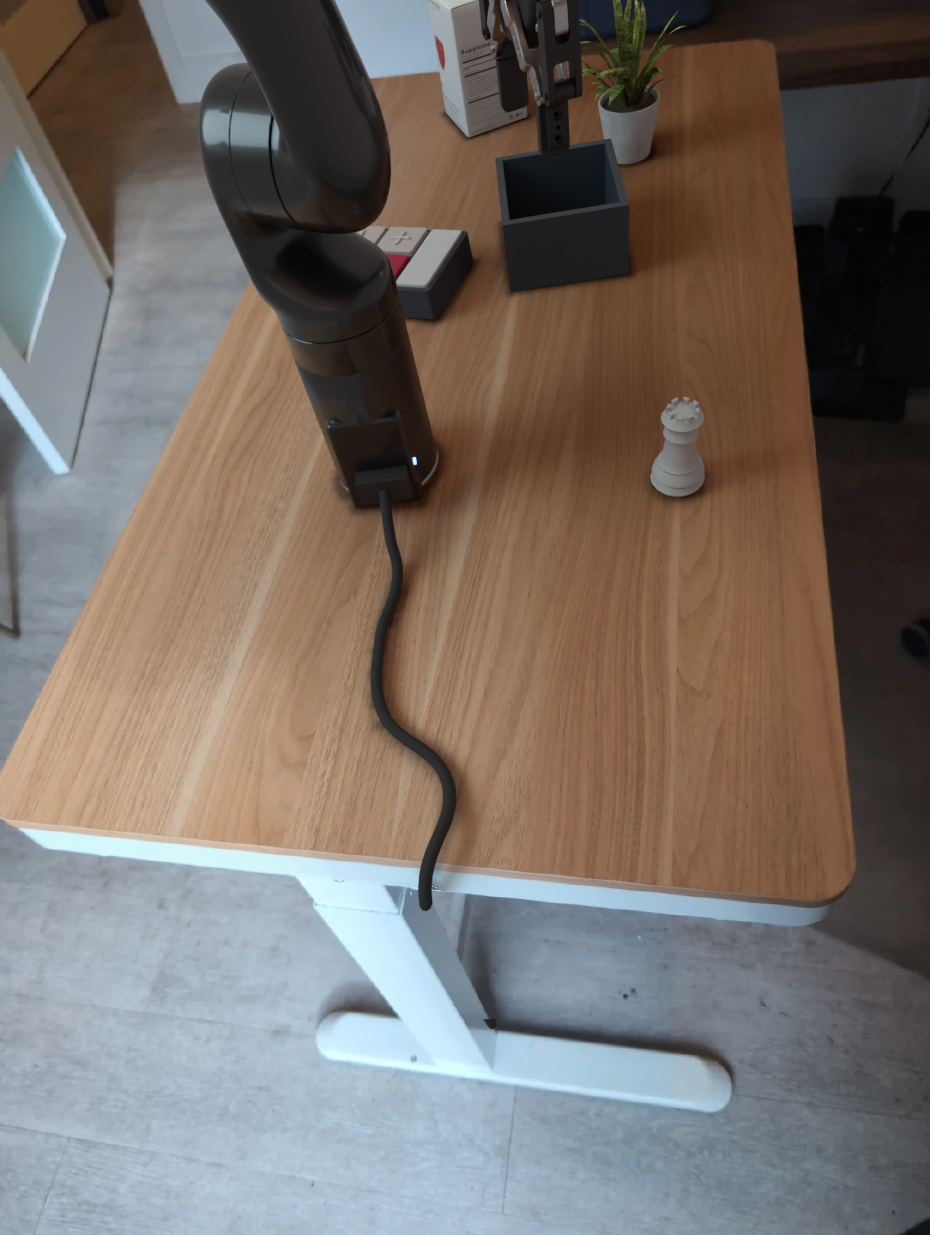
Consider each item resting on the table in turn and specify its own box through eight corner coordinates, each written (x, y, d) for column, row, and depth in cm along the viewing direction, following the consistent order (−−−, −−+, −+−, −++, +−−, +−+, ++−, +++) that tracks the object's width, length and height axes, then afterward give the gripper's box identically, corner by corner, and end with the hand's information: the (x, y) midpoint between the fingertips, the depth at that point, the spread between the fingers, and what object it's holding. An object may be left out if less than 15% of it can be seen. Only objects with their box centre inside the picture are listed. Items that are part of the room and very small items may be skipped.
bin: (628, 274, 88) (629, 204, 82) (510, 292, 89) (502, 225, 83) (611, 206, 96) (610, 137, 90) (502, 223, 97) (495, 157, 91)
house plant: (548, 140, 107) (538, -10, 93) (651, 110, 107) (656, -43, 94) (585, 192, 98) (580, 36, 85) (697, 160, 99) (709, -1, 85)
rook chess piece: (712, 470, 71) (722, 397, 64) (691, 506, 69) (698, 434, 62) (663, 455, 72) (668, 382, 66) (641, 490, 70) (643, 418, 64)
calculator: (348, 220, 95) (467, 223, 90) (359, 255, 99) (474, 260, 93) (303, 277, 90) (427, 284, 85) (317, 312, 94) (436, 320, 88)
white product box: (443, 113, 115) (423, -15, 103) (503, 93, 116) (490, -37, 104) (467, 139, 110) (448, 8, 98) (529, 118, 111) (518, -15, 99)
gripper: (423, -153, 55) (460, 108, 68) (494, -101, 47) (520, 186, 60) (529, -184, 55) (545, 82, 69) (618, -138, 47) (617, 155, 60)
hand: (534, 130), depth 64 cm, fingers open, 8 cm apart
